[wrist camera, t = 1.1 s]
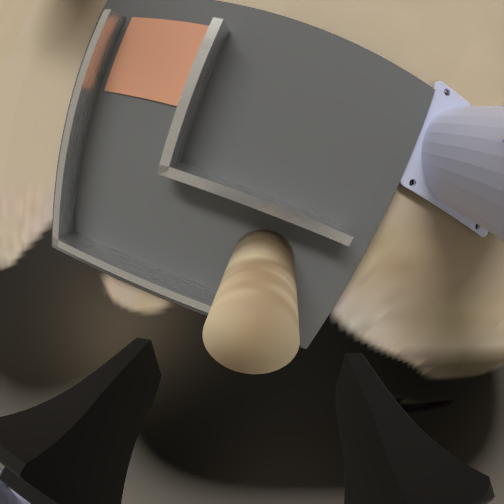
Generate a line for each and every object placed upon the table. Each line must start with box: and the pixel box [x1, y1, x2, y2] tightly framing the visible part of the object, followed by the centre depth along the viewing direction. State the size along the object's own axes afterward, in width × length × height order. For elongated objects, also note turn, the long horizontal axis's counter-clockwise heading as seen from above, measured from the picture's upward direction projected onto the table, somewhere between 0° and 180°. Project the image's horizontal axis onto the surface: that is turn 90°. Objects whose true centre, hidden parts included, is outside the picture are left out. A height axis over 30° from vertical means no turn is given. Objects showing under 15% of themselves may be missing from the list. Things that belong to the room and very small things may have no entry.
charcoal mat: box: [52, 0, 435, 349], centre depth 17 cm, size 23×21×1 cm
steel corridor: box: [53, 9, 354, 313], centre depth 16 cm, size 19×17×2 cm
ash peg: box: [203, 230, 300, 374], centre depth 15 cm, size 4×4×8 cm
